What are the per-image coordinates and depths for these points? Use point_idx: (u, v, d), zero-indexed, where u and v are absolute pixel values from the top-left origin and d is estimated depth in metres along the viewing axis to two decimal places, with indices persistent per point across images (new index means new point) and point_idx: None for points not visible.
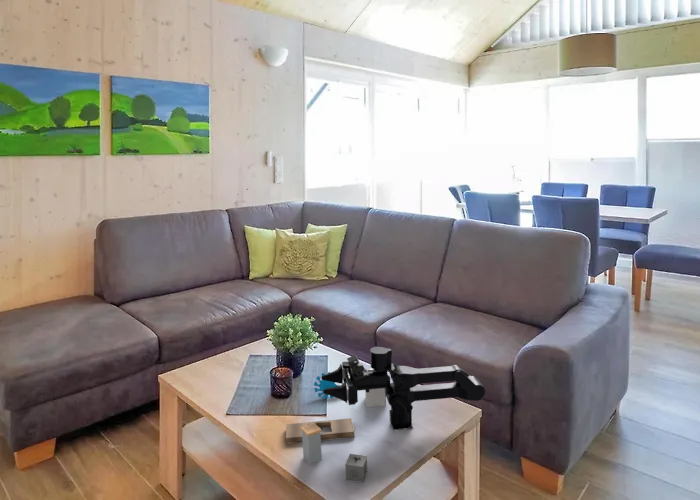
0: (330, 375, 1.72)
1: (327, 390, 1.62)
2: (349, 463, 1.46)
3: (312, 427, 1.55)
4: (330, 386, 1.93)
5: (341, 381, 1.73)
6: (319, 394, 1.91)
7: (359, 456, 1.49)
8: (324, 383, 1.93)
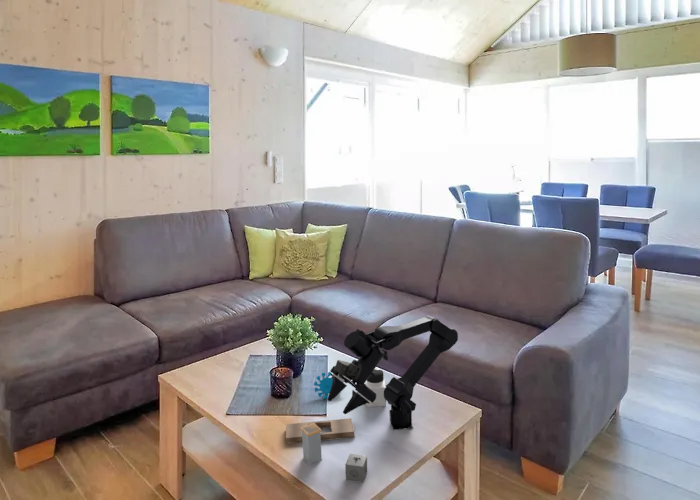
0: (333, 391, 1.62)
1: (346, 410, 1.54)
2: (349, 463, 1.46)
3: (312, 426, 1.55)
4: (330, 386, 1.93)
5: (344, 385, 1.65)
6: (319, 394, 1.92)
7: (359, 456, 1.49)
8: (324, 383, 1.94)
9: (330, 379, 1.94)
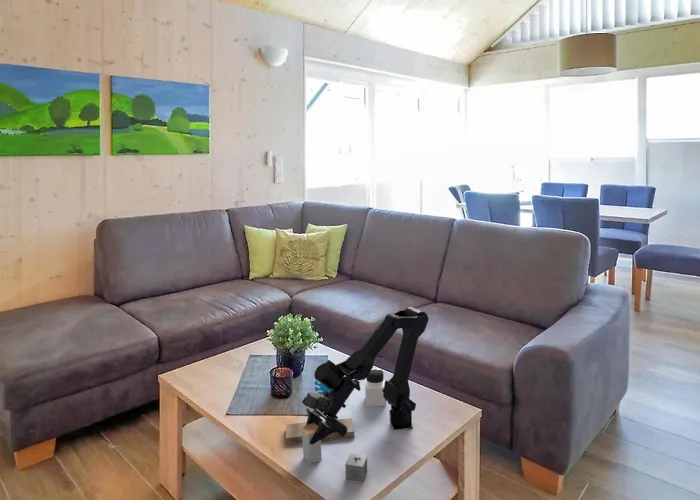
0: None
1: (313, 440, 1.52)
2: (349, 463, 1.46)
3: (312, 426, 1.55)
4: None
5: (320, 420, 1.59)
6: (319, 393, 1.92)
7: (359, 456, 1.49)
8: None
9: None
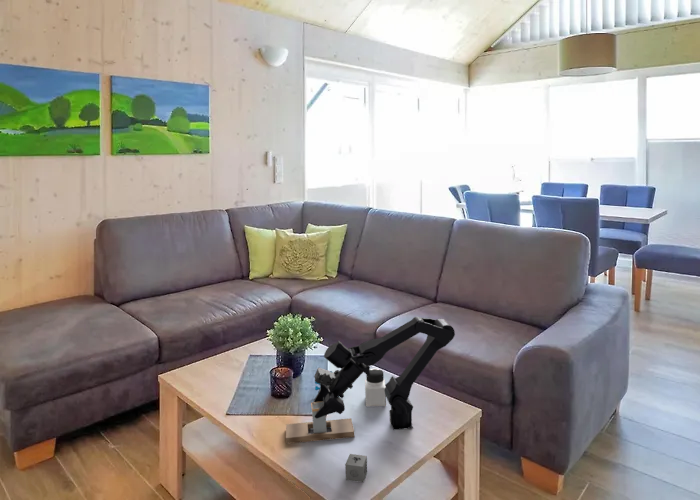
0: (318, 397, 1.71)
1: (317, 414, 1.63)
2: (349, 463, 1.46)
3: (320, 404, 1.68)
4: None
5: None
6: None
7: (359, 456, 1.49)
8: None
9: None
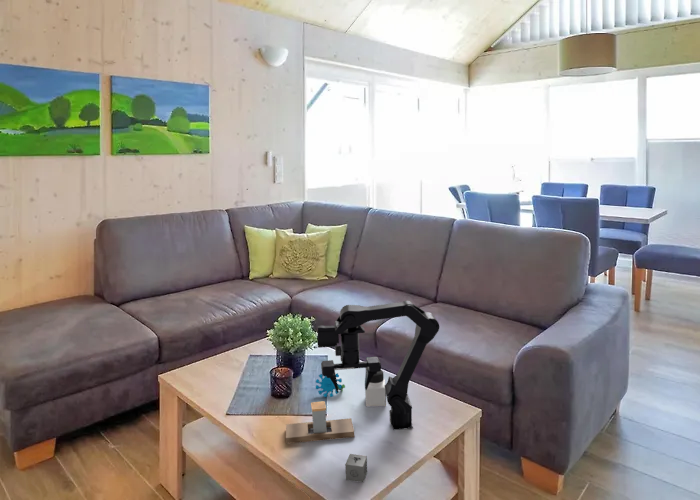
0: (365, 380, 1.70)
1: None
2: (349, 463, 1.46)
3: (320, 404, 1.68)
4: (331, 385, 1.94)
5: (367, 373, 1.67)
6: (319, 391, 1.93)
7: (359, 456, 1.49)
8: (326, 382, 1.95)
9: None
